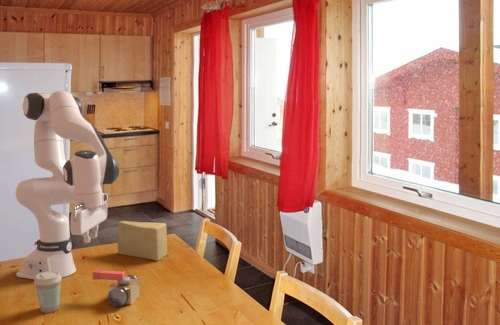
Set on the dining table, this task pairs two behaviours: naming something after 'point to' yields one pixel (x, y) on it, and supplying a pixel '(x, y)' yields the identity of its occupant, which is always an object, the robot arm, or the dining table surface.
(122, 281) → the lever
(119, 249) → the cheese
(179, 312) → the dining table surface
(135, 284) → the valve
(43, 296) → the coffee cup
